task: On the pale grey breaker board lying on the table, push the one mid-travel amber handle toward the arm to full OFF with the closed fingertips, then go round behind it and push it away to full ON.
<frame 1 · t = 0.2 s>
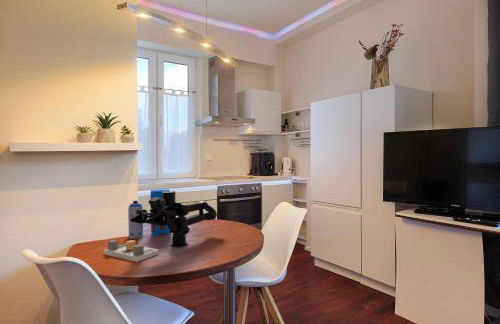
hand: (137, 221, 133), 17 cm above the table, tool horizontal, fingers open, 9 cm apart
tall blue box: (160, 234, 179), on the table
breaker panel: (131, 254, 142), on the table
aerosol can: (135, 236, 173), on the table
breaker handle: (130, 245, 141), point 4 cm above the table, slide at 3.0 cm
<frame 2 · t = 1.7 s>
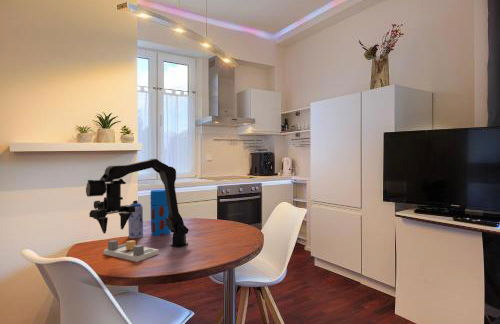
hand: (113, 231, 133), 12 cm above the table, tool pointing down, fingers open, 8 cm apart
nothing on the table moved.
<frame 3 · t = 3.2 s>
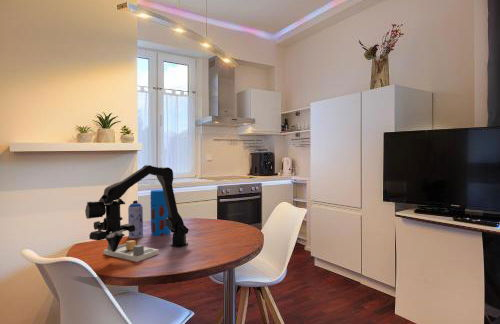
hand: (113, 251, 134), 4 cm above the table, tool pointing down, fingers closed
nothing on the table moved.
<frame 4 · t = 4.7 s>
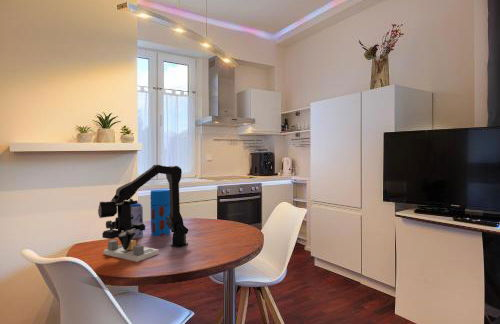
hand: (125, 249, 139), 3 cm above the table, tool pointing down, fingers closed
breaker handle: (131, 244, 142), point 4 cm above the table, slide at 2.8 cm, touching gripper
everything else where it was.
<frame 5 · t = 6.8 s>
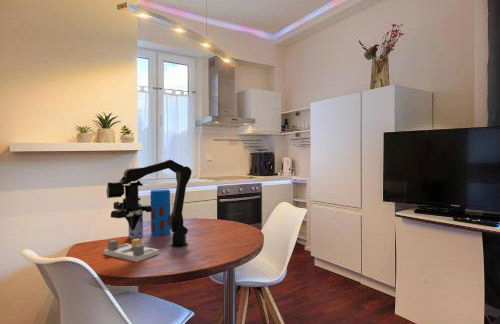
hand: (132, 230, 142), 11 cm above the table, tool pointing down, fingers closed
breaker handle: (136, 243, 144), point 4 cm above the table, slide at 0.0 cm
everything else where it was.
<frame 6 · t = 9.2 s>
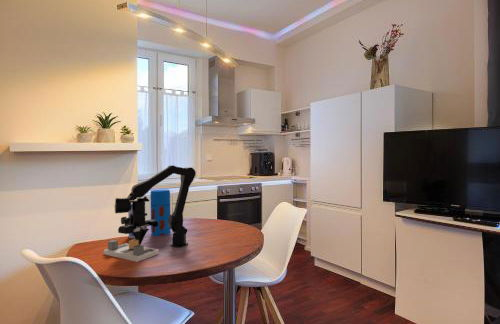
hand: (139, 244, 146), 3 cm above the table, tool pointing down, fingers closed
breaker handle: (133, 244, 143), point 4 cm above the table, slide at 1.5 cm, touching gripper
everything else where it was.
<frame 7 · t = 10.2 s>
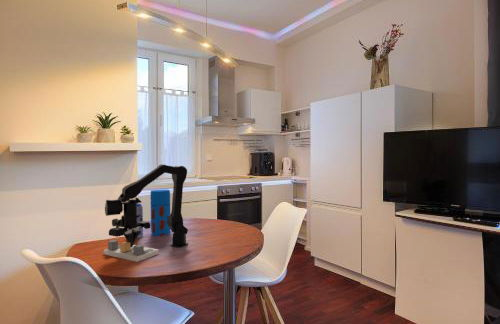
hand: (130, 247, 142), 3 cm above the table, tool pointing down, fingers closed
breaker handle: (125, 246, 139), point 4 cm above the table, slide at 6.1 cm, touching gripper
everything else where it was.
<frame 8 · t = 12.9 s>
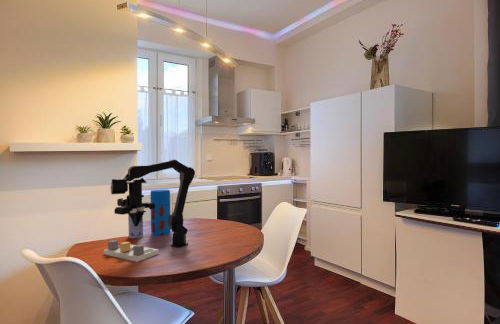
hand: (135, 226, 144), 12 cm above the table, tool pointing down, fingers closed
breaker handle: (125, 246, 139), point 4 cm above the table, slide at 6.0 cm
everything else where it was.
at the end: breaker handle slide at 6.0 cm; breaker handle touching nothing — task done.
